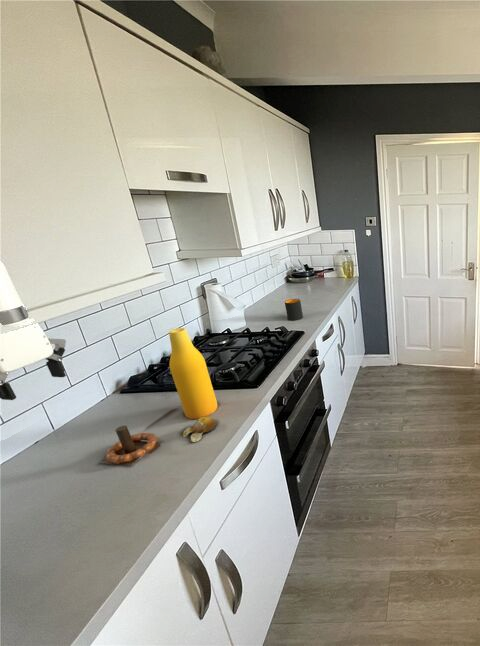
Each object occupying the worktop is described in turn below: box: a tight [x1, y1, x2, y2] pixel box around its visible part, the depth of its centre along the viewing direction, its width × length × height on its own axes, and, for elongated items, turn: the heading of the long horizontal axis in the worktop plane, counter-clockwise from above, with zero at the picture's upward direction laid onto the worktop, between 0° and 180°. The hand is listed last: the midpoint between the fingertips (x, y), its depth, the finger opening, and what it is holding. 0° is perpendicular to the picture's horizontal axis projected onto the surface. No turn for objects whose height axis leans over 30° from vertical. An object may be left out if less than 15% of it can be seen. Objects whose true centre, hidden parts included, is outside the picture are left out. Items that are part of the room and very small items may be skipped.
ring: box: [104, 432, 159, 464], centre depth 96 cm, size 11×11×2 cm
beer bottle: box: [168, 327, 218, 420], centre depth 109 cm, size 9×9×29 cm
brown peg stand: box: [100, 425, 161, 467], centre depth 94 cm, size 9×9×9 cm
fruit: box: [182, 416, 217, 443], centre depth 104 cm, size 8×8×4 cm
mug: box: [284, 298, 304, 322], centre depth 198 cm, size 8×12×10 cm
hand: (35, 387), depth 80 cm, fingers open, 9 cm apart
